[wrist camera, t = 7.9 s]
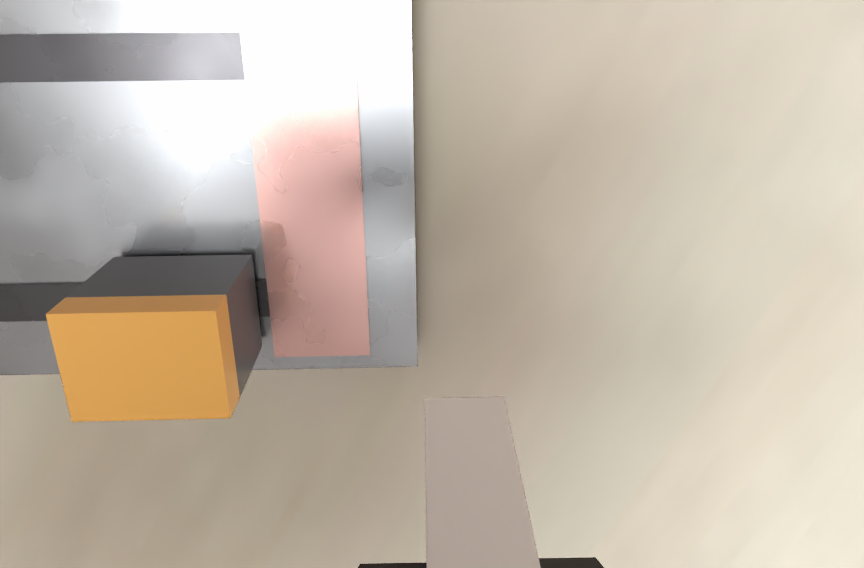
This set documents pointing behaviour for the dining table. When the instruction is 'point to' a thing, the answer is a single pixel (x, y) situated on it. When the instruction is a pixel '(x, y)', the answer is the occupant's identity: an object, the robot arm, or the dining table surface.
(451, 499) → the robot arm
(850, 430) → the dining table surface
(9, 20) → the panel
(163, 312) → the block
